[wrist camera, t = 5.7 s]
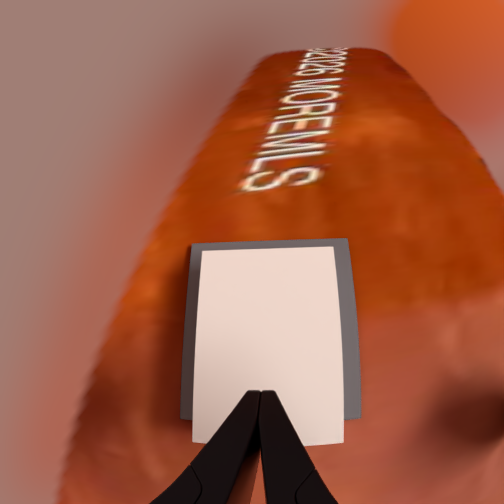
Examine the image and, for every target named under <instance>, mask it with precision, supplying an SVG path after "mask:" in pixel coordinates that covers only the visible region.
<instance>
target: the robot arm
mask: <svg viewBox="0 0 504 504" xmlns="http://www.w3.org/2000/svg"><path fill="white" fill-rule="evenodd" d="M260 450H261V461H262V471H263V481H264V490H265V500H266V504H338V502H337V501H336V500H335V498H334V497H333V496H332V494H331V493H330V492H329V490H328V488H327V487H326V485H325V483H324V482H323V480H322V479H321V477H320V475H319V473H318V471H317V470H316V469H315V466H314V464H313V462H312V461H311V459H310V457H309V455H308V453H307V451H306V449H305V447H304V446H303V444H302V442H301V440H300V438H299V436H298V434H297V432H296V430H295V428H294V427H293V425H292V423H291V421H290V419H289V417H288V415H287V413H286V411H285V409H284V407H283V405H282V403H281V401H280V399H279V397H278V395H277V393H276V391H275V390H262V391H260V390H248V391H246V393H245V394H244V395H243V397H242V398H241V399H240V401H239V402H238V404H237V405H236V406H235V408H234V409H233V410H232V412H231V413H230V414H229V415H228V417H227V418H226V419H225V421H224V422H223V423H222V425H221V426H220V427H219V428H218V430H217V431H216V432H215V434H214V435H213V436H212V437H211V439H210V440H209V441H208V442H207V444H206V445H205V446H204V447H203V449H202V450H201V451H200V452H199V453H198V455H197V456H196V457H195V458H194V460H193V461H192V462H191V463H190V465H188V467H187V468H186V469H185V470H184V471H183V472H182V474H181V475H180V476H179V477H178V478H177V479H176V480H175V481H174V482H173V483H172V484H171V485H170V486H169V487H168V488H167V489H166V490H165V491H164V492H162V493H161V494H160V495H159V496H158V497H157V498H155V499H154V500H153V501H152V502H151V503H149V504H250V501H251V496H252V492H253V487H254V483H255V478H256V473H257V468H258V463H259V458H260Z"/></svg>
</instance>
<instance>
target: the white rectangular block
mask: <svg viewBox="0 0 504 504" xmlns="http://www.w3.org/2000/svg"><path fill="white" fill-rule="evenodd" d="M248 390H260V391H262V390H275V391H276V393H277V395H278V397H279V399H280V401H281V403H282V405H283V407H284V409H285V411H286V413H287V415H288V417H289V419H290V421H291V423H292V425H293V427H294V428H295V430H296V432H297V434H298V436H299V438H300V440H301V442H302V444H303V446H310V445H324V444H335V443H343V436H344V390H343V358H342V338H341V322H340V309H339V297H338V286H337V276H336V266H335V257H334V249H333V247H303V248H273V249H243V250H214V251H202V260H201V272H200V284H199V297H198V311H197V326H196V343H195V364H194V389H193V435H192V442H197V443H206V444H207V442H208V441H209V440H210V439H211V437H212V436H213V435H214V434H215V432H216V431H217V430H218V428H219V427H220V426H221V425H222V423H223V422H224V421H225V419H226V418H227V417H228V415H229V414H230V413H231V412H232V410H233V409H234V408H235V406H236V405H237V404H238V402H239V401H240V399H241V398H242V397H243V395H244V394H245V393H246V391H248Z"/></svg>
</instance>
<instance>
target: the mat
mask: <svg viewBox="0 0 504 504" xmlns="http://www.w3.org/2000/svg"><path fill="white" fill-rule="evenodd" d="M303 247H333V249H334V257H335V266H336V276H337V286H338V297H339V309H340V322H341V338H342V358H343V390H344V420H350V419H358V418H361V376H360V354H359V338H358V325H357V313H356V303H355V293H354V284H353V276H352V268H351V260H350V253H349V246H348V239H347V238H340V239H307V240H276V241H248V242H222V243H197V244H192V249H191V258H190V268H189V278H188V288H187V300H186V312H185V325H184V339H183V356H182V376H181V403H180V419H186V420H193V389H194V364H195V343H196V326H197V311H198V297H199V284H200V272H201V260H202V251H214V250H243V249H273V248H303Z"/></svg>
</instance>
